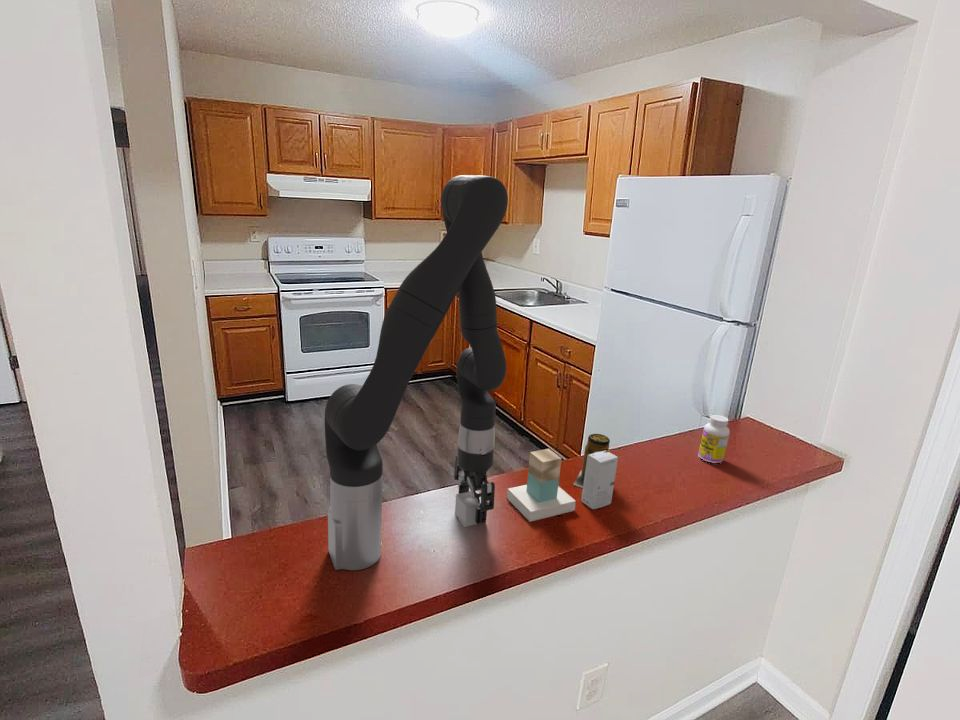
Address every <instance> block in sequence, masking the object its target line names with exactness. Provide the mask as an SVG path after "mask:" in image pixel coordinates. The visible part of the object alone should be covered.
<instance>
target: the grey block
mask: <svg viewBox="0 0 960 720" xmlns="http://www.w3.org/2000/svg"><path fill="white" fill-rule="evenodd" d="M476 493H480V492H479V491H476ZM479 500H480V503H481V497H479ZM476 507H477V506H476V502H475V499H474V498H472V494H471V490H469V492H465V493H460V494H458V493H457V494H455V507H454V515H455V514H456V515H455V516H456V518H457V517H458V518H457V519H458V521H459V522H460V523H461V525H462V526H463V527H464V528H467V527H470V526H475V525H478V524H477V523H476V522H475V518H476ZM474 524H475V525H474ZM466 526H467V527H466Z"/></svg>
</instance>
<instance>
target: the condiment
mask: <svg viewBox="0 0 960 720" xmlns="http://www.w3.org/2000/svg"><path fill="white" fill-rule="evenodd" d="M610 442H611V441H610V438H609V437H608V436H607V435H604V434H601V433H591V434H589V435H588V438H587V442H586V445H585V447H584V453H583V458H582V460H583V461H582V464H581V465H582V466H581V470H580V471H579V473H578V475H577V477H576V479H575V481H574V482H573V486H576V487H578V488H582V489H583V484H584V477H585V470H586V463H587V456H588V455H589V454H593V453H595V452H601V451H605V450H606V451H608V452H610V448H609V447H610ZM610 453H611V452H610Z"/></svg>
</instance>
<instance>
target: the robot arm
mask: <svg viewBox="0 0 960 720" xmlns="http://www.w3.org/2000/svg"><path fill="white" fill-rule="evenodd" d="M508 203H509V196H508V191H507V188H506V186H505V184H504V183H503V182H502V181H501V180H499V178H496V177H494V176H489V175H476V174H475V175H474V174H471V175H470V174H464V175H463V174H460V175H456V176H454V177H452V178H450V179H449V180H448V181H447V183H445V185H444V187H443V189H442V192H441V197H440V205H441V207H440V208H441V213H442V216H443V217H442V218H443V221H444V225H445V227H444V228H445V229H446V231H445V232H446V233H445V235H444V236H443V238H442V240H441V241H440V242H439V244H438V245H437V246H436V248H435V249H434V250H433V251H431V252H430V253H429V255H428V256H426V257H425V258H424V259H422V261H421V262H420V263H418V265H417V266H415V268H414V269H412V270H411V271H410V273H409V274H407V276H406V277H405V278H404V280H403V281H402V282H401V284H400V286H399V287H398V289H397V291H396V292H395V295H394V296H393V297H392V299H391V301H390V303H389V306H387V308H386V309H387V310H386V312H385V314H384V316H383V319H382V324H381V329H380V334H379V340H378V347H377V351H376V355H375V356H376V357H375V359H374V363H373V366H372V368H371V370H370V372H369V374H368V376H367V377H366V378H365V381H364V382H363V384H362V385H361V384H354V383H350V384H345V385H342V386H340V387H338V388H337V389H336V390H335V391H334V392H332V394H330V396H329V398H328V399H327V401H326V404H325V409H324V436H325V438H324V440H325V441H324V442H325V453H326V460H327V463H328V467H329V480H330V481H329V486H330V487H329V488H330V490H329V491H330V492H329V494H330V497H329V498H330V501H329V502H330V504H329V505H330V506H329V507H327V535H328V536H327V537H328V538H327V539H328V540H327V541H328V543H327V544H328V545H327V546H328V547H327V549H328V553H329V556H330V559H331V562H332V565H333V568H334V570H335V571H338V570H339V571H340V570H346V571H359V570H360V571H361V570H364V569H367V568H370V567H371V566H373V565H375V564H376V563H377V562H378V561H379V560H380V558H381V557H382V556H381V555H382V525H383V524H382V523H383V522H382V519H383V515H382V513H383V474H384V473H383V468H384V467H383V466H384V464H383V457H382V456H381V453H380V450H379V447H378V444H379V443H380V442H381V440H383V439H384V437H385V436H386V434H387V433H388V431H389V430H390V427H391V426H392V424H393V421H394V419H395V416H396V414H397V411H398V409H399V406H400V404H401V402H402V399H403V397H404V394H405V393H406V390H407V387H408V385H409V383H410V381H411V380H412V378H413V375H414V373H415V372H416V370H417V368H418V366H419V364H420V362H422V361H421V360H422V358H423V356H424V355H425V353H426V351H427V349H428V347H429V345H430V344H431V342H432V340H433V339H434V337H435V335H436V334H437V332H438V330H439V328H440V327H441V324H442V323H443V321H444V319H445V317H446V315H447V313H448V311H449V310H450V307H451V305H452V303H453V302H454V299H455V298H456V296H457V295H458V305H459V306H458V309H459V321H460V322H459V324H460V326H459V327H460V334H461V336H462V339H464V341H465V342H466V343H468V345H469V346H470V347H467V348H465V349H464V350H463V351H462V352H461V353H460V355H459V357H458V359H457V363H456V370H455V372H456V381H457V387H458V393H459V397H460V401H461V402H460V404H461V407H460V421H459V423H460V424H459V429H458V436H457V440H458V441H457V454H456V455H455V460H454V461H455V462H454V471H453V478H454V481H457V482H456V483H457V485H456V486H457V487H458V493H457V494H460V493H465V492H470V491H471V494H472V498H474V499H475V502H476V506H477V507H476V518H475V522H476V523H477V524H476V525H482V524H485V523H486V522H487V512H488V511H492V510H494V509H495V491H496V489H495V488H496V485H495V482H494V481H492V482H489V481H488V476H487V475H488V474H487V472H488V471H489V469H491V468H492V467H493V465H494V454H495V453H494V452H495V442H496V441H495V440H496V439H495V438H496V432H495V431H496V430H495V425H496V424H495V423H496V409H497V406H496V405H497V404H496V401H495V398H493V396H491V394H490V393H489V391H494V390H496V389H498V388H500V387H501V385H502V384H503V382H504V380H505V379H506V378H505V377H506V376H507V375H506V374H507V360H506V356H505V353H504V348H503V345H502V341H501V338H500V336H499V332H498V316H497V315H498V313H497V312H498V311H497V299H496V293H495V292H496V291H495V290H494V286H493V282H492V281H491V277H490V274H489V272H488V269H487V267H486V262H485V259H484V256H483V251H484V250H485V247H486V246H487V245H488V243H489V242H490V241H491V239H492V237H493V236H494V234H495V233H496V232H497V230H498V229H499V227H500V225H501V223H502V222H503V220H504V218H505V215H506V213H507V209H508V205H509V204H508ZM459 472H460V473H459ZM476 491H478V492H479V491H480V492H479V493H476ZM479 497H481V503H480V500H479Z"/></svg>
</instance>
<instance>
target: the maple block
mask: <svg viewBox="0 0 960 720" xmlns="http://www.w3.org/2000/svg"><path fill="white" fill-rule="evenodd" d="M561 465H562V457H560V456H559V454H557V453H555V452H554V451H552V450H551V449H550V448H545V449H539V450H534V451H530V452H529V462H528V469H527V471H528V472H529V473H530V474H531V475H532V476H533V477H535V478H536V479H537V480H538V481H539V482H540V483H541V482H545V481H550V480H554V479H559V480H560V472H561ZM528 472H527V473H528Z"/></svg>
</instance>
